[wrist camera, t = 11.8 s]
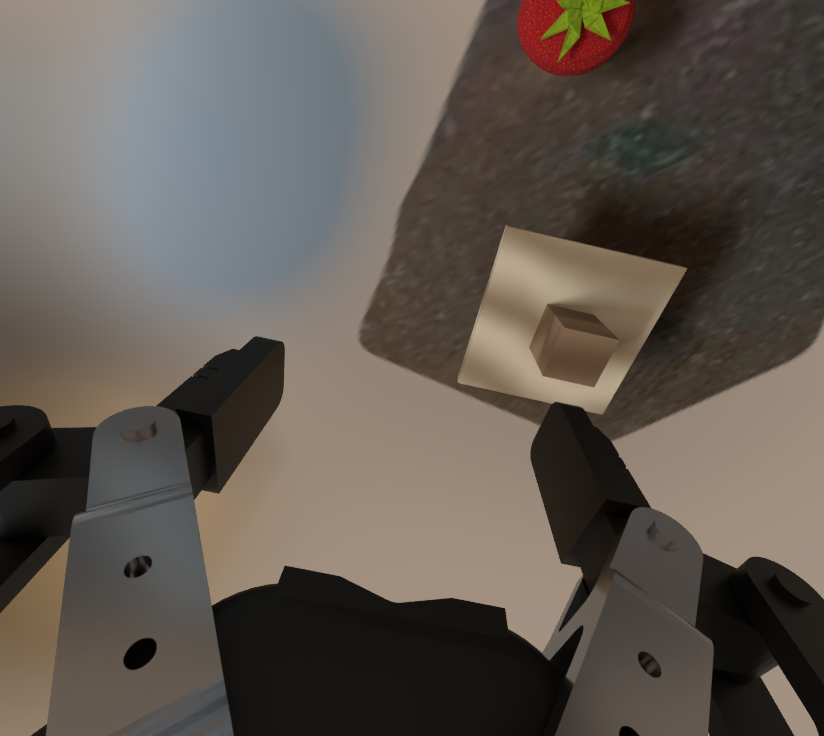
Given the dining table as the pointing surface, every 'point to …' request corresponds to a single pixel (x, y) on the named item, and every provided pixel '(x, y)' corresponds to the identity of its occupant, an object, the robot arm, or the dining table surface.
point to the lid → (564, 319)
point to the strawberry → (573, 32)
